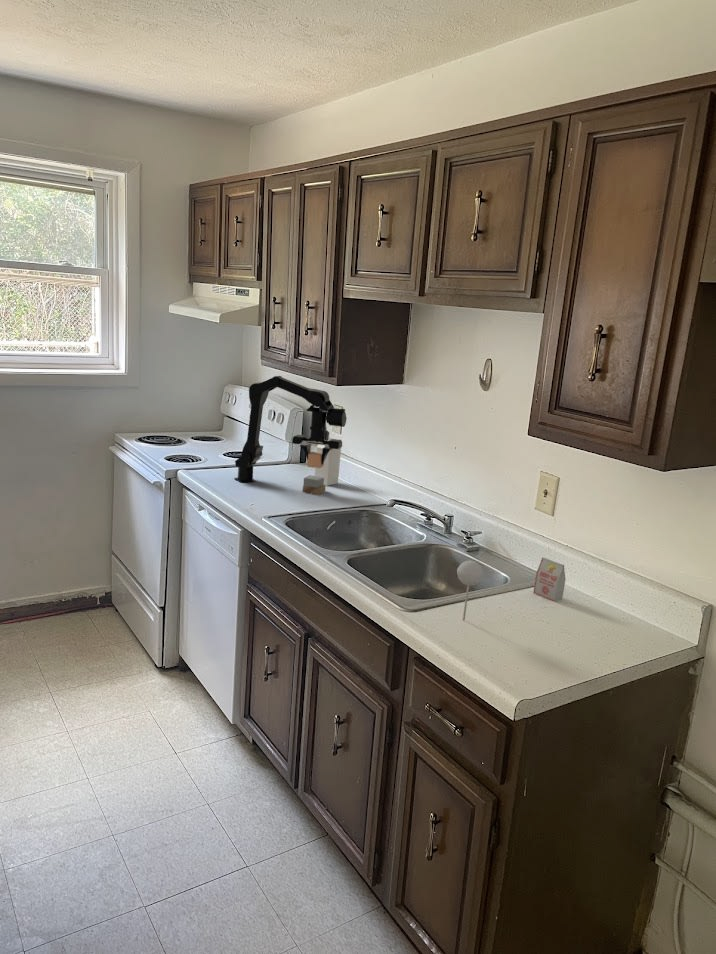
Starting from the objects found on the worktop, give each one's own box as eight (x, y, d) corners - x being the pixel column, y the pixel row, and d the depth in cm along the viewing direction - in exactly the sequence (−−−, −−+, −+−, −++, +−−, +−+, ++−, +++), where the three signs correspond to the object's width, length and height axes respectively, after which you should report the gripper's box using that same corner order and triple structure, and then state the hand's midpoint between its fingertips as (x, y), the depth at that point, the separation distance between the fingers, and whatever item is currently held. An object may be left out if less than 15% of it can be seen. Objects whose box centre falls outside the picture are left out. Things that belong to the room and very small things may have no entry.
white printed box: (541, 590, 197) (546, 556, 194) (562, 599, 192) (568, 564, 190) (533, 593, 194) (538, 558, 192) (554, 602, 189) (559, 566, 187)
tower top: (303, 485, 278) (304, 477, 277) (309, 482, 283) (310, 475, 283) (317, 487, 276) (318, 480, 275) (323, 484, 282) (324, 477, 281)
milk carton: (327, 486, 291) (330, 440, 287) (313, 482, 295) (317, 437, 291) (338, 483, 296) (341, 438, 292) (324, 480, 301) (328, 435, 296)
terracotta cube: (307, 466, 276) (308, 453, 275) (311, 464, 281) (312, 451, 280) (319, 468, 275) (320, 455, 274) (323, 465, 280) (324, 453, 279)
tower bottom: (302, 493, 278) (303, 485, 277) (308, 489, 284) (308, 482, 284) (319, 496, 276) (320, 488, 276) (325, 492, 283) (325, 484, 282)
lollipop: (474, 615, 176) (481, 558, 172) (478, 626, 170) (486, 566, 166) (449, 614, 175) (456, 556, 172) (452, 624, 169) (460, 564, 166)
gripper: (347, 424, 280) (344, 462, 283) (302, 418, 284) (299, 457, 288) (339, 427, 269) (336, 468, 273) (292, 422, 274) (290, 462, 277)
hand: (315, 463), depth 278 cm, fingers closed on terracotta cube, 5 cm apart
